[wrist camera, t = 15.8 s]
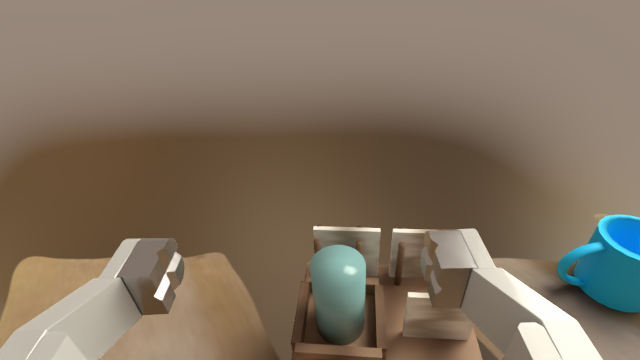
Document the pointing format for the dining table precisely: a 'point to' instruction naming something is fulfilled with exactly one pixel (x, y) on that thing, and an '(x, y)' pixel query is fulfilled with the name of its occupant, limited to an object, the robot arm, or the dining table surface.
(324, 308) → the teal glossy cylinder
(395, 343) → the rack
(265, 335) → the dining table surface
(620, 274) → the mug
